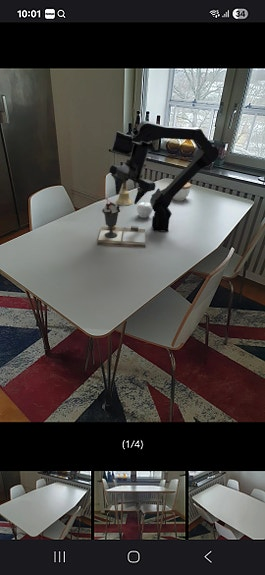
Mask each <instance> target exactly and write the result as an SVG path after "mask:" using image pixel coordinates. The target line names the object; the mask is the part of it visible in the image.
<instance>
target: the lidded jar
mask: <svg viewBox="0 0 265 575" xmlns="http://www.w3.org/2000/svg"><path fill="white" fill-rule="evenodd" d="M171 182H172V181H170V182H169V184H170V183H171ZM191 186H192V185H191V183H190V182H188V183H187V184H186V185H185V186H184V187H183V188H182V189H181V190H180V191H179V192H178V193H177V194H176V195H175V196H174V197H173V199H172V200H175V201H185V199H186V198H187V197H188V196H189V194H190V190H191Z"/></svg>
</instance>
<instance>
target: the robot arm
mask: <svg viewBox="0 0 265 575" xmlns="http://www.w3.org/2000/svg"><path fill="white" fill-rule="evenodd" d="M161 139H169V140H188V141H193V143H194V144H195V147H196V148H197V151H195V153H194V155H193V158H192V160H190V162H189V163H188V165H186V166H185V168H183V170H181V172H180V173H179V174H177V176H176V177H175V178H174V179H173V180H172V181H170V182H171V183H170V182H169V184H168V185H167V186H166V187H164V188H163V189H160V188H157V189H156V187H157V186H156V182H155V181H153V180H150V179H142V178H143V174H142V173H143V170H144V168H145V167H146V166H147V164H146V160H147V157H148V154H149V151H155V147H154V144H153V141H158V140H161ZM110 151H111V152H113V153H117V154H120V155H123V156H127V155H129V154H130V157H129V158H127V160H126V162H125V163H124V164H122V165H119V164H112V165H111V166H109V170H108V173H109V174H110V176H111V177H112V178H113V179H114V185H115V186H114V187H115V195H120V191H121V190H122V188H123V181H127V182H128V181H129V180H130V181H132V182H134V183H136V184H138V187H137V190H136V191H137V193H136V195H135V199H134V201H133V204H134V205H138V204H139V203H138V202H140V200H141V199H142V198H143V197H144V196H145V195H146V193H148V192H152V191H155V192H154V193H152V194H151V197H150V200H149V203H150V204H151V207H152V209H153V210H152V211H154V212H153V213H154V214H153V216H152V219H151V221H152V222H151V228H152V230H153V232H154V231H155V232H169V230H170V228H169V225H170V218H171V217H172V214H173V213H172V212H171V210H170V208H169V206H170V205H171V203H172V201H173V200H174V199H173V197H174V196H175V195H176V194H177V193H178V192H179V191H180V190H181V189H182V188H183V187H184V186H185V185H186V184H187V183H190V181H191V180H192V179H193V178H194V177H195V176H196V175H197V174H198V172H199V171H201V170H203V169H204V168H206V167H209V166H210V165H212V164H213V163H214V162H216V161H217V159H218V158H219V154H220V152H219V149H218V147H217V146H215V145H214V144H212V142H211V141H210V140H209V139H208V137H207V136H206V135H205V133H204V132H203V130H202V129H201V128H199V127H198V126H197V127H196V126H195V127H187V126H173V125H171V126H170V125H163V124H159V123H155V122H151V121H148V120H142V121H140V122H139V124H138V125H137V128H136V129H135V130H133V131H132V132H131V133H130V134H125V133H122V132H121V131H118V130H117V131H115V134H114V137H113V138H112V142H111V148H110ZM155 189H156V190H155Z"/></svg>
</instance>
